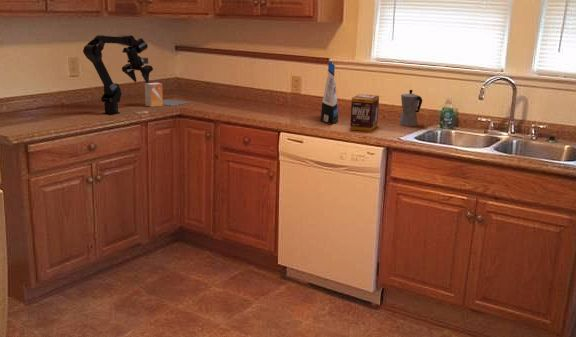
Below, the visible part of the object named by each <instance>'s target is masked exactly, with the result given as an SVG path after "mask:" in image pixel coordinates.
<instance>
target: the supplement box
mask: <svg viewBox="0 0 576 337" xmlns="http://www.w3.org/2000/svg"><path fill="white" fill-rule="evenodd" d="M379 105H380V95H376V94H363V93H359V94H357V95H355V96H353V97H352V98H351V106H350V109H351V110H350V124H349V125H350V127H349V129H350V130H353V131H354V130H356V131H366V132H371V131H372V130H374V129H375V128H376V127H378V120H379V119H378V118H379V107H380V106H379Z"/></svg>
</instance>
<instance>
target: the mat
mask: <svg viewBox="0 0 576 337" xmlns="http://www.w3.org/2000/svg"><path fill="white" fill-rule="evenodd" d="M185 103H186V104H190V101H184V100H176V99H175V100H174V99H168V98H167V99H163V106H167V107H173V106H174V105H175V106H179V104H180V105H185Z"/></svg>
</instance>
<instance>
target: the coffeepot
mask: <svg viewBox="0 0 576 337" xmlns="http://www.w3.org/2000/svg"><path fill="white" fill-rule="evenodd" d="M400 96H401V99H400V100H401V108H402V112H401V115H400V120H399V123H398V124H399V125H400V126H403V127H417V126H418V124H419V123H418V115H417V114H418V113H419V112H420V110H421V107H422V104H423V98H422V97H421V95H418V94H415V93H413V89H409V93H402V94H401V95H400Z"/></svg>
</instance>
